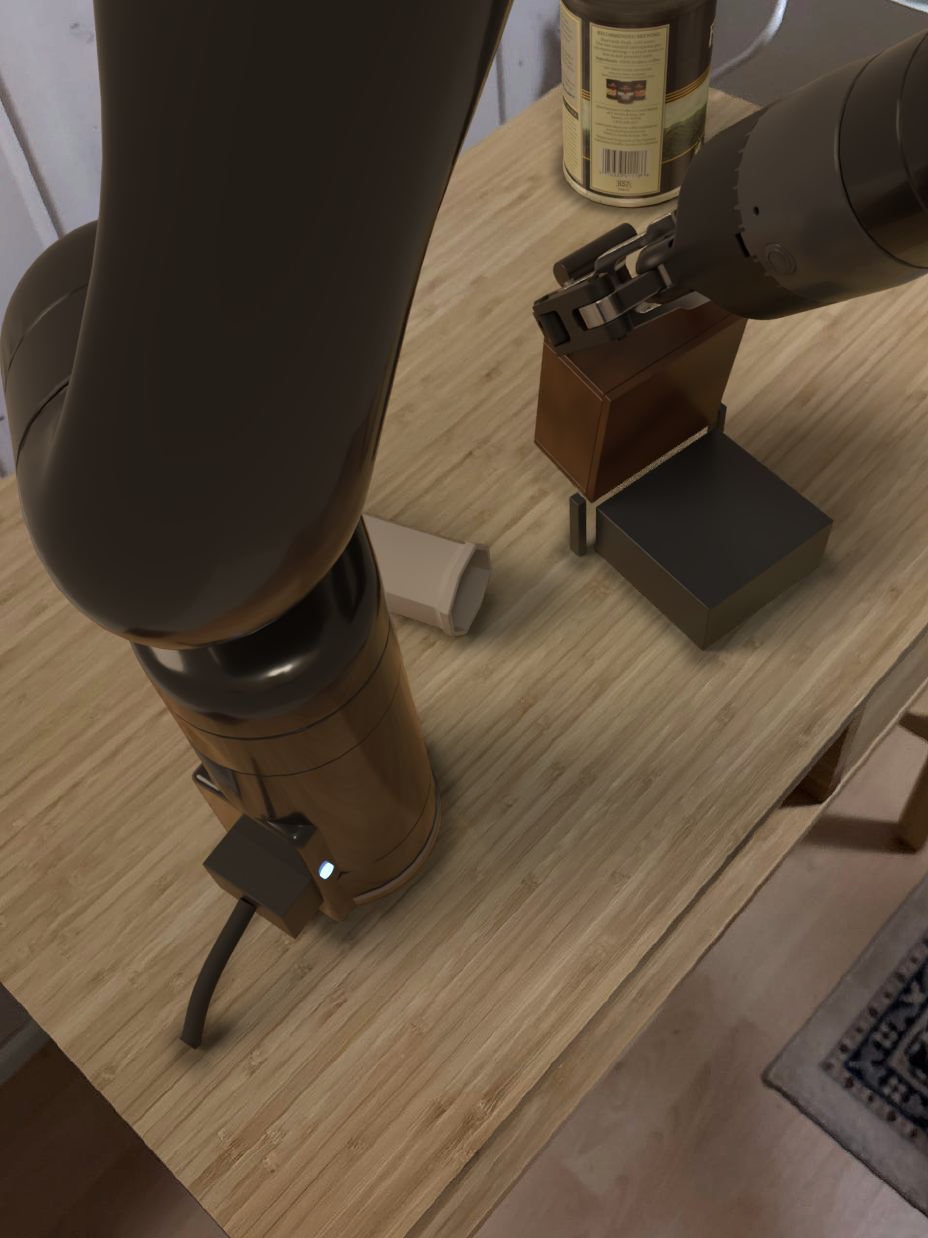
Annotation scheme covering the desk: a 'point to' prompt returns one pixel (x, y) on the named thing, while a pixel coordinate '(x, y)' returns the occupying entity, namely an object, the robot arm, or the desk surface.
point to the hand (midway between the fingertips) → (608, 283)
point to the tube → (430, 574)
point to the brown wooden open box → (631, 386)
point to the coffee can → (633, 95)
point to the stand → (707, 535)
